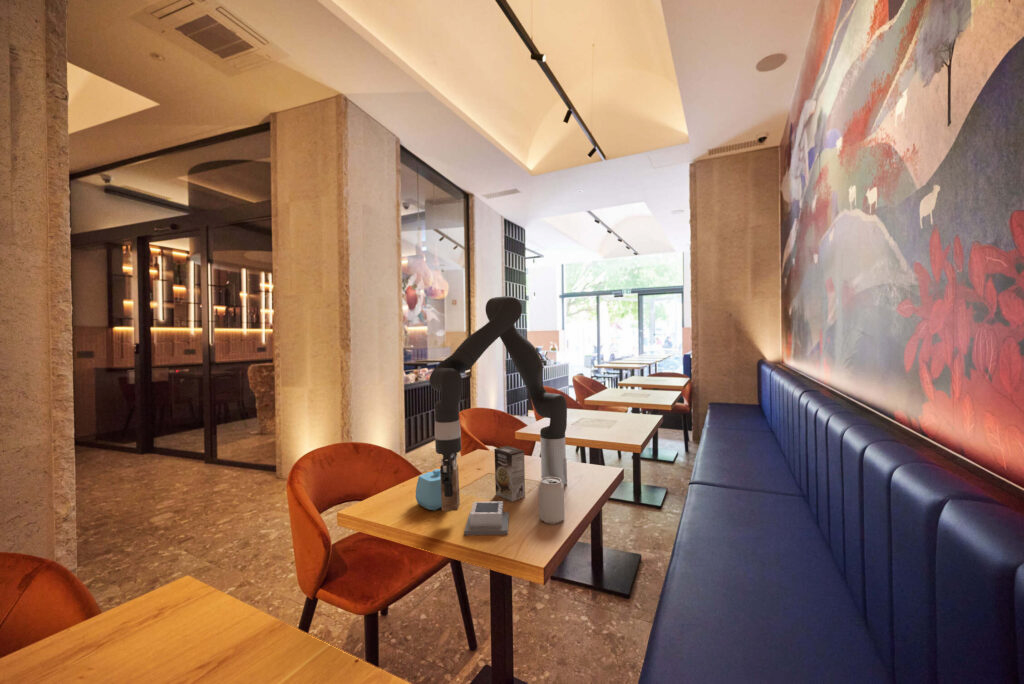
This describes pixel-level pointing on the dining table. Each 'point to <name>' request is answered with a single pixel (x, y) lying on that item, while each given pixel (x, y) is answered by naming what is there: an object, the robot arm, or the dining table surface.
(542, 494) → the can
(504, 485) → the coffee box
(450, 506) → the long tan beam
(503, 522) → the dock
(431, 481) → the teapot
